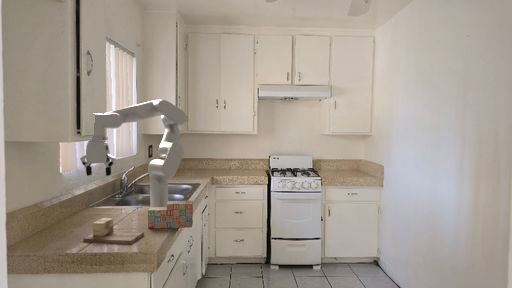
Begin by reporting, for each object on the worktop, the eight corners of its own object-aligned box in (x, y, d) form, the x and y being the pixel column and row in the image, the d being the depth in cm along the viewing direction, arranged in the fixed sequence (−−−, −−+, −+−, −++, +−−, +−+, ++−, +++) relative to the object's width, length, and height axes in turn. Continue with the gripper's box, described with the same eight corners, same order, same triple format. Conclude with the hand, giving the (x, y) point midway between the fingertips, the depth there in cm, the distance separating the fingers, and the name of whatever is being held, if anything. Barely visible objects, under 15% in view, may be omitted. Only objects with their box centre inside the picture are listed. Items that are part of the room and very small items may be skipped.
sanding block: (103, 230, 161) (103, 218, 161) (113, 231, 161) (113, 218, 160) (93, 236, 153) (92, 222, 153) (103, 236, 153) (103, 223, 152)
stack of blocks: (147, 228, 169) (147, 204, 169) (150, 225, 176) (150, 201, 175) (192, 227, 172) (191, 203, 171) (193, 224, 178) (192, 200, 177)
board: (99, 233, 163) (99, 229, 162) (143, 235, 159) (143, 232, 159) (83, 241, 151) (83, 238, 151) (130, 244, 148) (130, 240, 147)
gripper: (118, 139, 167) (119, 173, 169) (84, 139, 169) (86, 173, 171) (110, 140, 160) (111, 176, 161) (74, 140, 162) (77, 176, 163)
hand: (98, 175), depth 166 cm, fingers open, 9 cm apart
